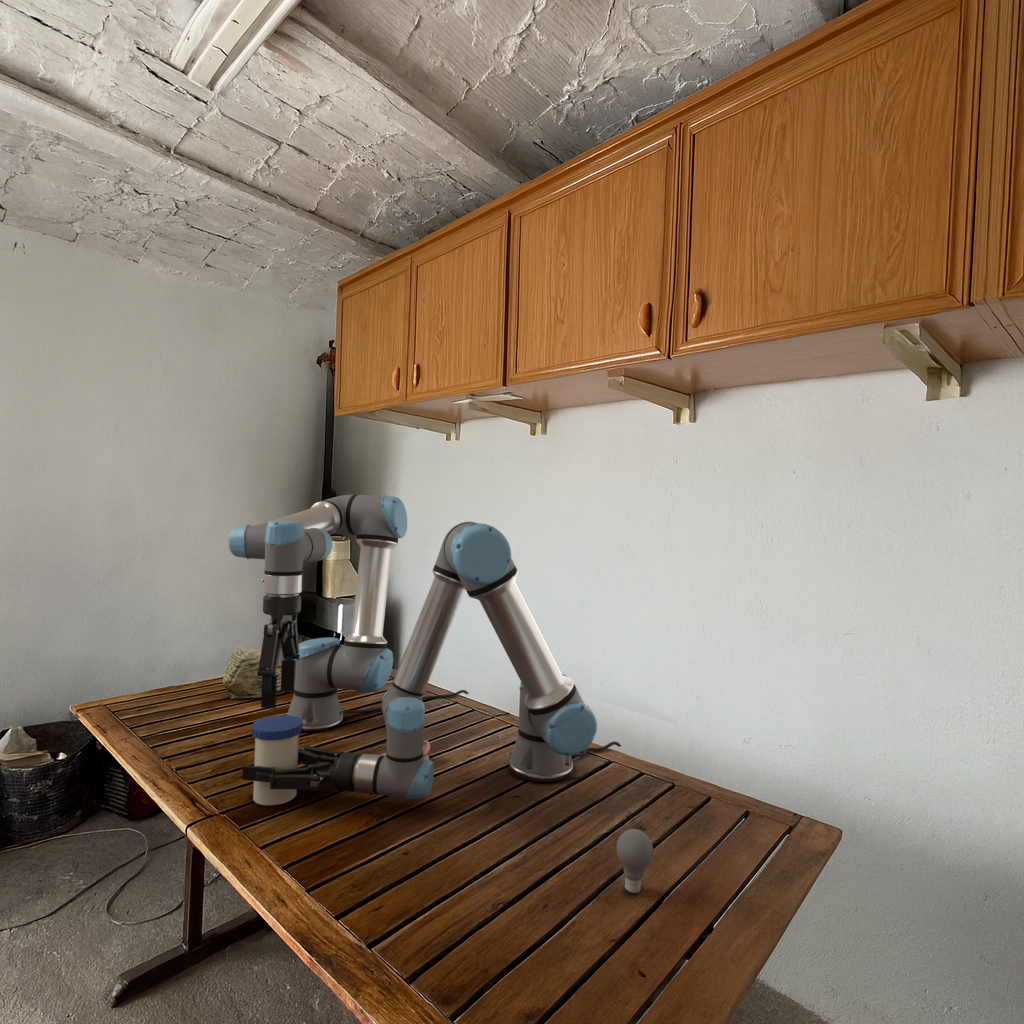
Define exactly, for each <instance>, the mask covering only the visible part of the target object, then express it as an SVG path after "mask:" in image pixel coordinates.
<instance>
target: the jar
mask: <svg viewBox="0 0 1024 1024" xmlns="http://www.w3.org/2000/svg"><path fill="white" fill-rule="evenodd" d="M299 745H300V734H298V735H296V736H294V737H291V738H288V739H282V740H262V739H258V738H255V737H254V756H253V758H254V759H253V766H260V767H270V768H273V767H275V770H285V769H296V768H299V765H298V749H300V748H299ZM252 782H253V783H252V800H253V801H254V803H255V804H258V805H261V806H278V805H282V804H285V803H288V802H290V801H292V800H293V799H295V798H296V796H297V794H298V789H270V782H260V781H252Z"/></svg>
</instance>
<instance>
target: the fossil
mask: <svg viewBox="0 0 1024 1024" xmlns="http://www.w3.org/2000/svg"><path fill="white" fill-rule="evenodd" d="M261 650H262V647H261V648H260V647H258V648H251V647H247V646H246V647H245V646H238V647H237V648H236V649H235V650H233V651H232V653H231V656H230V657H229V659H228V660H227V663H226V666H225V668H224V671H223V675H222V676H223V677H222V685H223V687H224V688H225V690H226V691H228V693H229V698H230V699H250V698H261V696H262V676H258V675H257V672H258V669H259V663H260V656H261ZM267 669H268V668H267ZM275 675H277V693H276V695H281V694H284V693H285V691H286V690H281V669H279V668H278V667H277V668H276V673H275Z"/></svg>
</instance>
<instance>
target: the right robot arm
mask: <svg viewBox="0 0 1024 1024" xmlns="http://www.w3.org/2000/svg"><path fill="white" fill-rule="evenodd" d="M431 572H432V574H433V577H434V578H433V580H432V583H431V585H430V588H429V590H428V593H427V595H426V597H425V600H424V603H423V605H422V608H421V611H420V612H419V615H418V618H417V621H416V623H415V625H414V628H413V630H412V632H411V635H410V638H409V640H408V643H407V645H406V648H405V650H404V651H403V655H402V658H401V660H400V663H399V665H398V667H397V670H396V671H395V675H394V677H393V680H392V683H391V685H390V687H389V689H388V690H386V692H385V693H384V694H383V697H382V698H381V699H382V700H381V707H382V710H381V713H382V715H383V720H384V724H385V728H386V750H385V751H386V752H385V753H386V756H382V755H381V754H374V753H372V754H371V753H362V754H360V753H359V752H358V753H357V752H348V751H346V752H345V751H338V750H337V751H335V750H329V749H325V748H319V747H315V746H309V745H304V746H303V748H298V766H299V765H301V764H302V765H304V766H306V767H298V768H296V769H285V770H275V767H273V768H270V767H260V766H254V765H248V764H244V765H242V776H241V777H242V779H241V780H242V781H252V782H253V781H260V782H270V789H297V790H310V791H316V792H317V791H320V790H321V786H322V785H323V784H333V785H334V788H335V790H336V791H338V792H345V793H354V792H356V793H359V794H368V795H369V796H373V795H375V796H376V795H377V796H387V797H396V798H403V799H415V800H419V799H420V800H421V799H426V798H427V797H428V796H429V795H430V793H431V791H432V788H433V784H434V777H435V769H434V766H435V765H434V762H433V761H432V760H430V759H429V760H427V759H423V741H424V738H425V737H424V736H425V722H426V714H425V713H426V710H425V703H424V701H423V700H422V697H424V695H425V692H426V689H427V687H428V684H429V681H430V679H431V677H432V673H433V672H434V669H435V666H436V664H437V661H438V659H439V657H440V654H441V652H442V649H443V646H444V644H445V642H446V639H447V636H448V634H449V632H450V629H451V627H452V623H453V621H454V619H455V616H456V615H457V612H458V609H459V606H460V603H461V602H462V599H463V596H464V594H465V592H466V594H467V595H468V597H469V598H470V599H474V600H476V601H477V600H478V602H479V603H480V605H481V607H482V609H483V610H484V612H485V614H486V616H487V618H488V621H489V622H490V624H491V627H492V628H493V630H494V632H495V634H496V636H497V638H498V640H499V642H500V643H501V645H502V647H503V650H504V652H505V654H506V655H507V657H508V659H509V661H510V663H511V665H512V667H513V669H514V671H515V672H516V675H517V676H518V678H519V681H520V686H519V689H518V690H519V704H518V705H519V706H518V707H519V708H518V711H519V712H518V732H517V738H516V740H515V743H514V746H513V748H512V750H511V752H510V753H509V757H508V759H509V761H508V762H509V764H508V769H509V771H510V772H511V773H512V774H513V775H514V776H516V777H517V778H519V779H522V780H525V781H529V782H534V783H542V784H543V783H545V784H546V783H557V782H561V781H565V780H566V779H568V778H570V777H571V776H572V774H573V773H574V772H573V771H574V770H573V769H574V763H573V759H572V758H583V757H585V756H586V755H587V753H589V752H601V751H606V750H607V749H609V748H610V747H612V746H617V747H619V748H621V747H622V745H621V743H620V742H618V741H611V742H609V743H608V744H606V745H603V746H600V747H589V746H590V745H591V744H592V742H593V741H594V740H595V736H596V734H597V730H598V721H597V717H596V715H595V713H594V711H593V709H592V708H591V707H590V706H589V705H587V704H586V703H585V701H584V700H583V698H582V696H581V694H580V692H579V690H578V688H577V686H576V685H575V682H574V681H573V679H572V677H569V676H568V675H567V674H564V673H562V672H561V670H560V668H559V666H558V664H557V661H556V660H555V658H554V656H553V654H552V652H551V649H550V648H549V646H548V644H547V642H546V640H545V637H544V636H543V634H542V632H541V630H540V628H539V625H538V624H537V622H536V620H535V618H534V616H533V614H532V611H531V610H530V608H529V606H528V604H527V602H526V600H525V598H524V596H523V594H522V593H521V590H520V588H519V586H518V585H517V582H516V580H517V577H518V573H519V570H518V568H517V567H516V564H515V562H514V560H513V558H512V548H511V546H510V543H509V541H508V539H507V538H506V536H505V534H503V533H502V532H501V531H500V530H498V529H497V528H496V527H495V526H493V525H490V524H488V523H487V524H486V523H478V522H474V521H464V522H460V523H458V524H456V525H454V526H453V527H451V528H450V530H448V532H447V533H446V535H445V536H444V538H443V541H442V543H441V546H440V548H439V552H438V555H437V557H436V560H435V563H434V565H433V568H432V571H431Z"/></svg>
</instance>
